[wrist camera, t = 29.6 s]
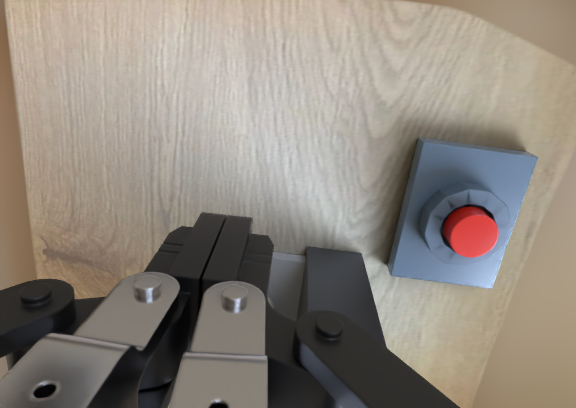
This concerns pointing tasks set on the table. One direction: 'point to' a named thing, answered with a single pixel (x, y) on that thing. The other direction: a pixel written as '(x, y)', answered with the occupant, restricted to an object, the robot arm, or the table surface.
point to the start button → (470, 232)
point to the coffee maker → (324, 286)
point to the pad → (454, 195)
